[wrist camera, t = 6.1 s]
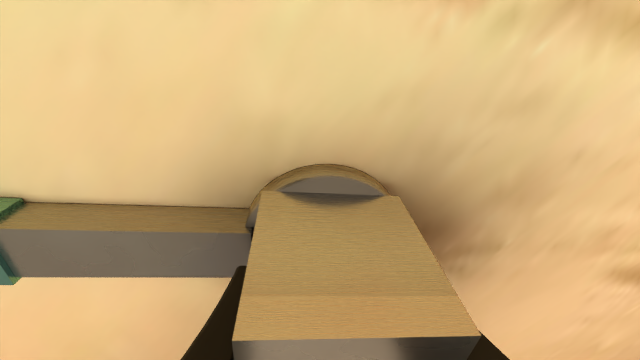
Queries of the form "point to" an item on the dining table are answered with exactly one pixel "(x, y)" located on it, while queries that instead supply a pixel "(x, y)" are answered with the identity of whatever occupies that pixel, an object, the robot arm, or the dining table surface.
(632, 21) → the dining table surface
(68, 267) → the ratchet
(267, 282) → the grey block
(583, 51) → the dining table surface
